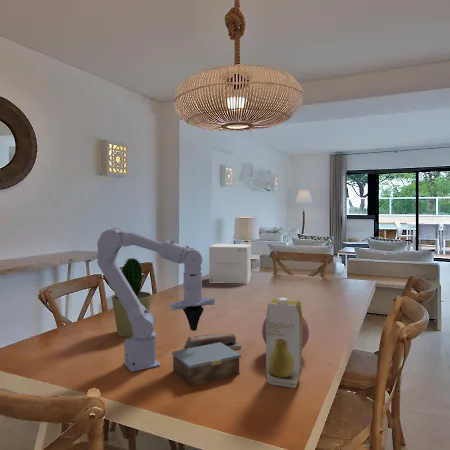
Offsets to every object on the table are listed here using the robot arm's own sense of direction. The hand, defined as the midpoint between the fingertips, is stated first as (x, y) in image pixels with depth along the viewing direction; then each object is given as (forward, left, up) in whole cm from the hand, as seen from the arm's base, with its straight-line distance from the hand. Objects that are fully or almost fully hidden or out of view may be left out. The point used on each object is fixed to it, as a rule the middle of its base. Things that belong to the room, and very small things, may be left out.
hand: (193, 329), depth 125 cm
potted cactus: (-8, +40, -11) cm, 42 cm away
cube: (+82, +116, -11) cm, 142 cm away
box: (0, -9, -10) cm, 14 cm away
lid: (0, -9, -6) cm, 11 cm away
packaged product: (+12, +9, -11) cm, 18 cm away
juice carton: (+16, -26, -11) cm, 32 cm away
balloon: (+28, -11, -11) cm, 32 cm away
